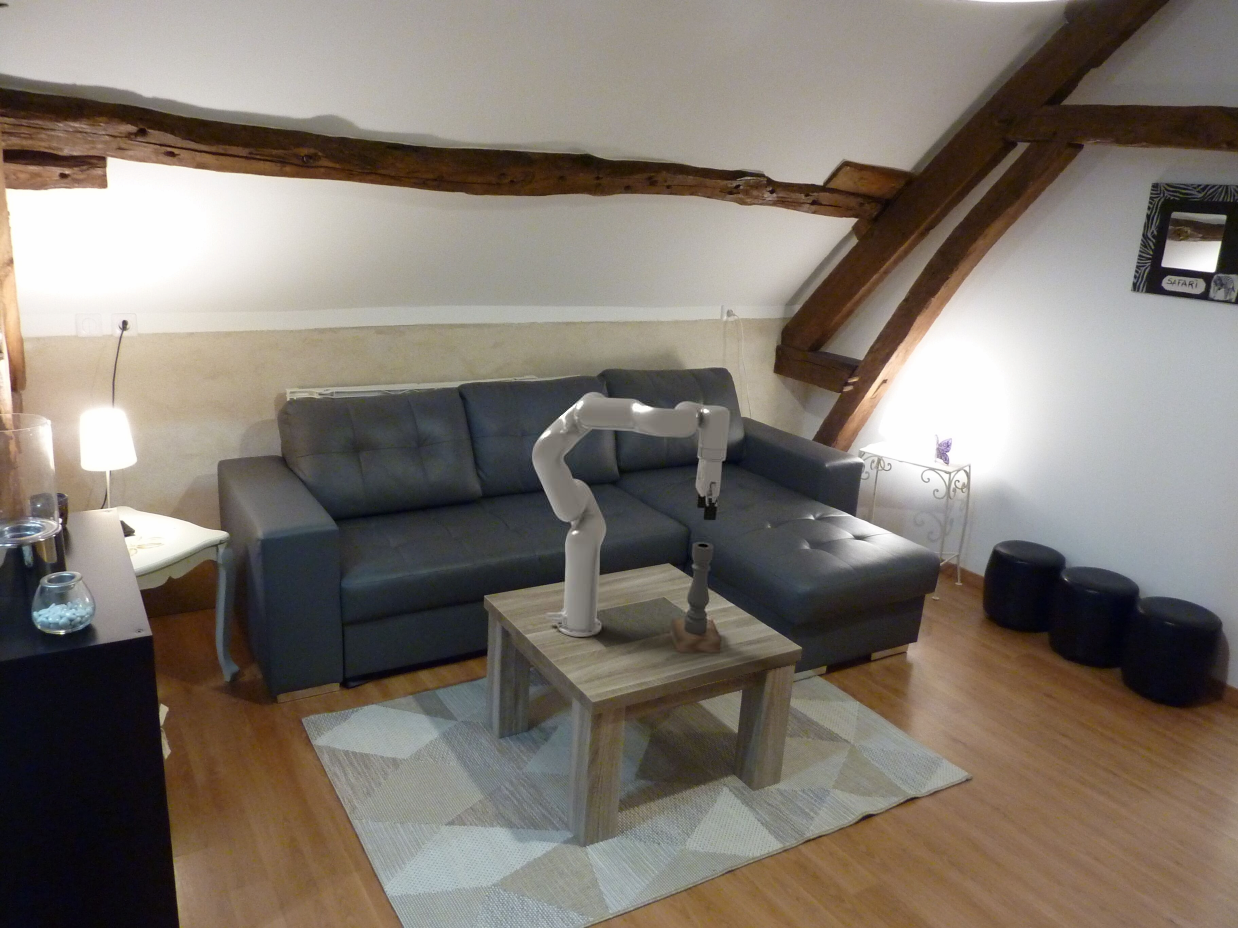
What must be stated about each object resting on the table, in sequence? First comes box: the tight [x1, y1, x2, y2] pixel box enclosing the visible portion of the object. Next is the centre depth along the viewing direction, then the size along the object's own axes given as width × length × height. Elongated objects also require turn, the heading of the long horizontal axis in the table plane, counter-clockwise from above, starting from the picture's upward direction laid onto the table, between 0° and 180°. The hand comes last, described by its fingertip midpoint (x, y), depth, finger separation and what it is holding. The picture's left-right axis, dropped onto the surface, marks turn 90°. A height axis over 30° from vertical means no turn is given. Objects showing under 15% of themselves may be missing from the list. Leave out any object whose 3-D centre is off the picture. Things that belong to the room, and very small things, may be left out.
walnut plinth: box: [670, 618, 722, 653], centre depth 267 cm, size 12×12×4 cm
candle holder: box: [684, 541, 714, 634], centre depth 263 cm, size 6×6×25 cm
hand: (706, 513), depth 257 cm, fingers open, 9 cm apart
